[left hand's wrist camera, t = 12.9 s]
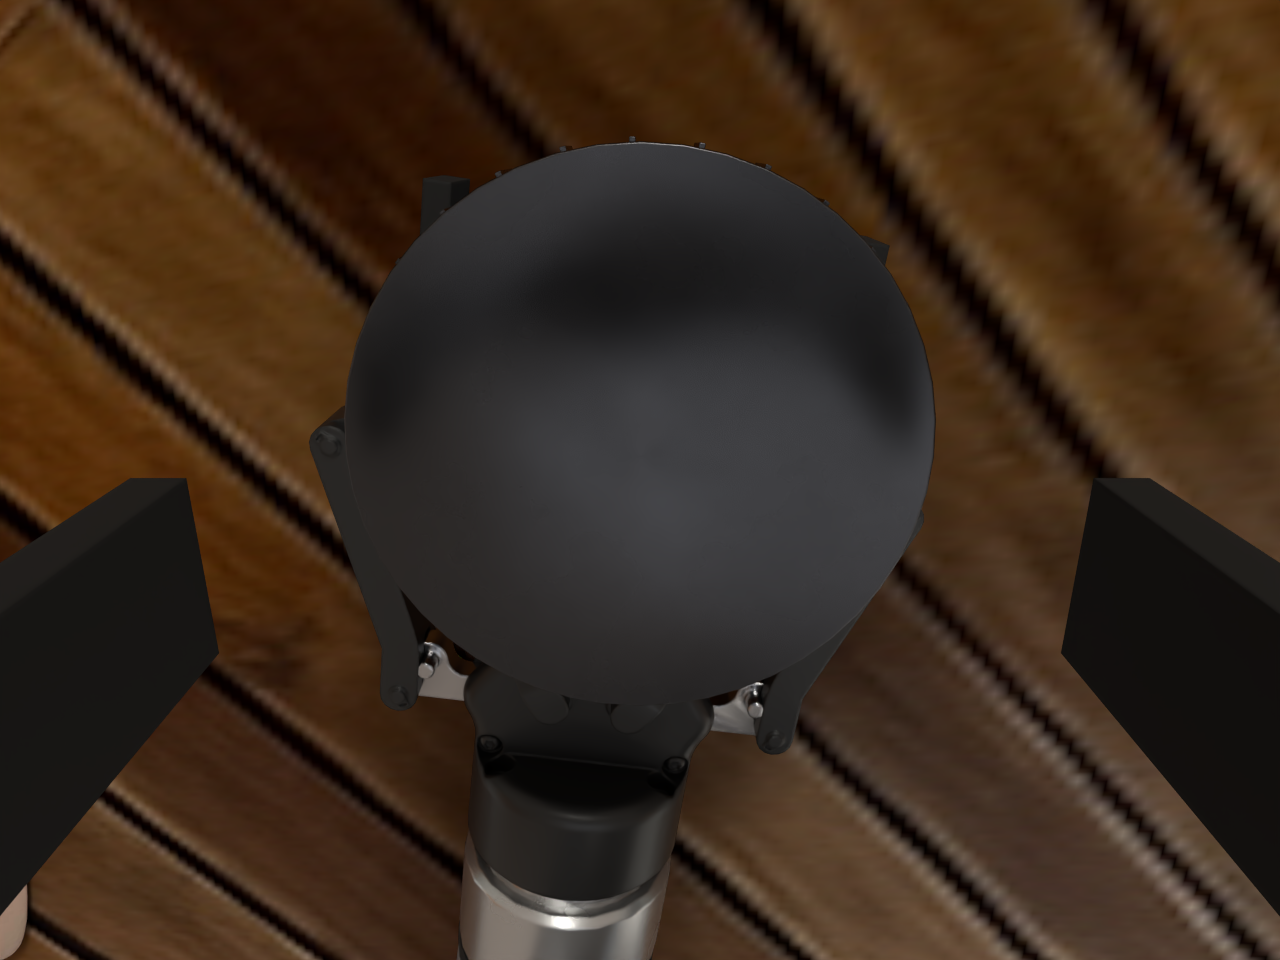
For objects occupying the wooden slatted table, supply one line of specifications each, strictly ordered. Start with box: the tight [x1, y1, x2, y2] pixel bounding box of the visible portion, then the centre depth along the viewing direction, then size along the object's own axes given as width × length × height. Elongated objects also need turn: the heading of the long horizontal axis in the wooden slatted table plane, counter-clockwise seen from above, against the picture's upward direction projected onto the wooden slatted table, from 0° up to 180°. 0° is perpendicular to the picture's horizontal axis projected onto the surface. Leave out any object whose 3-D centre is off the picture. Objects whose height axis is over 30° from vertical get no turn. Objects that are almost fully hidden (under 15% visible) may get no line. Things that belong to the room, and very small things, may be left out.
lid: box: [344, 137, 936, 706], centre depth 18 cm, size 11×11×2 cm
